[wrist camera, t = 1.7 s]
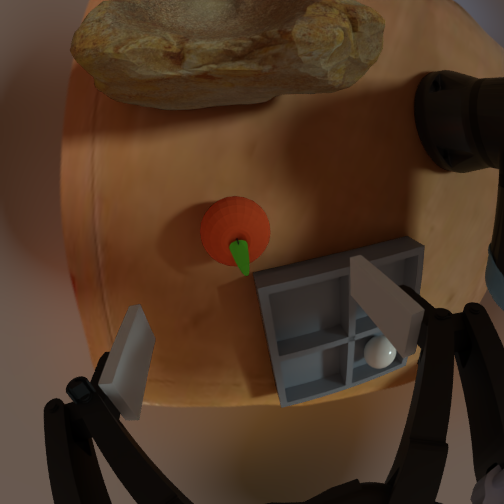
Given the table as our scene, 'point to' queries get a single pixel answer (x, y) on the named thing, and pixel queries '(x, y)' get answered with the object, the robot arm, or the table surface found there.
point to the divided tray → (327, 319)
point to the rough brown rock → (225, 49)
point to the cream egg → (379, 352)
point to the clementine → (235, 232)
